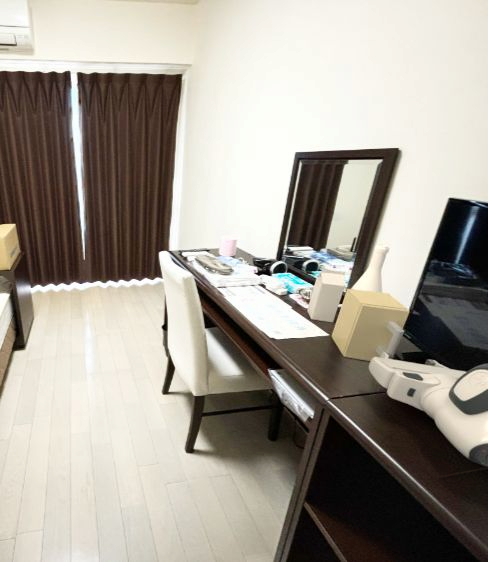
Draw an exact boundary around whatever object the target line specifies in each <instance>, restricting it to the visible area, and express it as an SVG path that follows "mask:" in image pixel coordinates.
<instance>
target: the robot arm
mask: <svg viewBox="0 0 488 562" xmlns="http://www.w3.org/2000/svg"><path fill="white" fill-rule="evenodd" d="M392 357H393V358H394V356H392V355H391V354H390V353H386V352H382V355H381V357H374V358H372V360H371V361H369V365H368V371H369V372H370V374H371V375H372V377H373V378H374V379H375V381H376V382H377V383H378V384H379V385H380V386H382V387H383V388H384V389H387V390H386V394H387V396H388V397H389V398H391V399H393V400H396V401H398V402H401V403H404V404H408V405H409V406H412V407H414V408H416V409H418V410H420V411H422V412H424V413H426V415H427V416H428V417H430V418H431V419H432V420H434V423H435V426H436V427H437V428H438V430H439V431H440V432H441V434H442V435H444V437H445V438H446V439H447V441H448V442H449V443H450V444H451V445H452V446H453V447H454V448H455V449H456V450H457V451H458V452H459V453H460V454H462V455H463V456H464V457H465V458H467V459H468V460H470V461H471V462H473V463H476V464H478V465H480V466H483V467H487V468H488V363H483V364H480V365H476V366H474V367H473V368H471V369H469V370H467V371H465V370H457V369H454V368H453V369H452V368H449V367H447V366H445V365H443V364H440V363H439V362H438V361H436V360H434V359H430V358H429V359H428V358H427V359H426V360H425V362H424V364H423V363H416V362H411V361H410V362H409V361H405V360H404V361H403V360H398V359H393V358H392Z"/></svg>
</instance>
